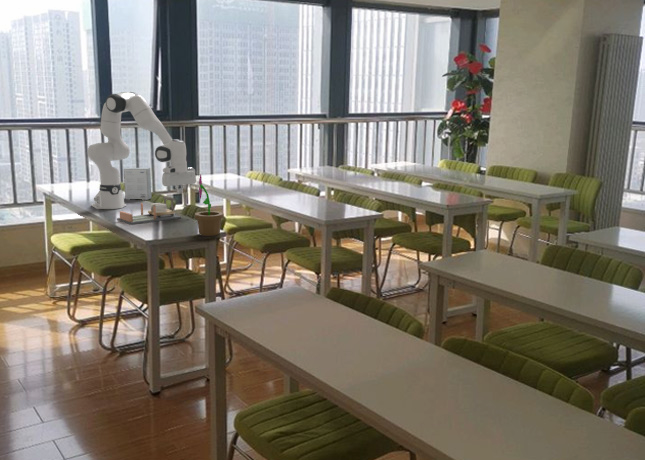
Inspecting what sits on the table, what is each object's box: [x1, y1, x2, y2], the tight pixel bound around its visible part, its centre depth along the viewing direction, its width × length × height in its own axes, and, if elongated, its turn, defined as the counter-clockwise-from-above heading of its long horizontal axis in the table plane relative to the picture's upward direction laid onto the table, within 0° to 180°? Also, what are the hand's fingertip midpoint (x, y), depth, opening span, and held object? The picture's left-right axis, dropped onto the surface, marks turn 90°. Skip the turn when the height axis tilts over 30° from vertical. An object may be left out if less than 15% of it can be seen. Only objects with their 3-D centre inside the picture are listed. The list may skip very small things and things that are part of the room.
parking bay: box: [119, 202, 156, 222], centre depth 386 cm, size 16×15×7 cm
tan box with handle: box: [147, 195, 176, 217], centre depth 395 cm, size 10×11×10 cm
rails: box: [132, 213, 176, 221], centre depth 392 cm, size 8×28×1 cm, turn 132°
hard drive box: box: [123, 167, 152, 201], centre depth 457 cm, size 16×8×20 cm, turn 84°
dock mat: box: [116, 214, 182, 226], centre depth 392 cm, size 17×30×1 cm, turn 132°
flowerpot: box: [194, 173, 224, 237], centre depth 353 cm, size 14×14×30 cm
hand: (179, 192), depth 402 cm, fingers closed
